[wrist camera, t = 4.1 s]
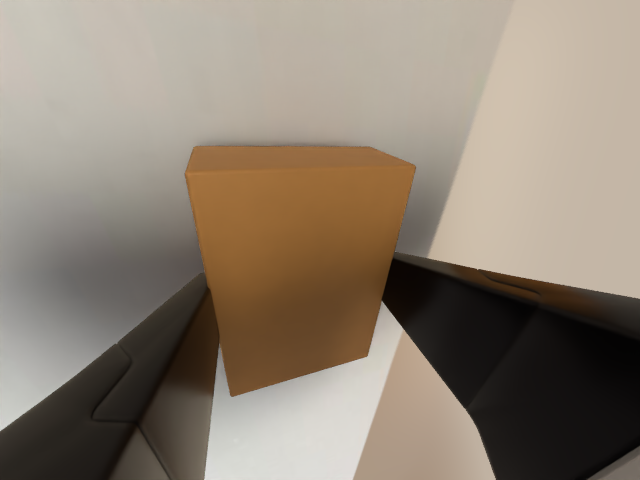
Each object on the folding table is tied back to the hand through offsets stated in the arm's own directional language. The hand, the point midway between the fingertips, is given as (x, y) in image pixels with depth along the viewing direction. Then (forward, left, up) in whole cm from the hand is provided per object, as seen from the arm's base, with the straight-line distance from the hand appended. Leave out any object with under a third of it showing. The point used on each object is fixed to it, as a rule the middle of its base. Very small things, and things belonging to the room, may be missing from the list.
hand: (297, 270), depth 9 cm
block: (0, 0, -1) cm, 1 cm away
